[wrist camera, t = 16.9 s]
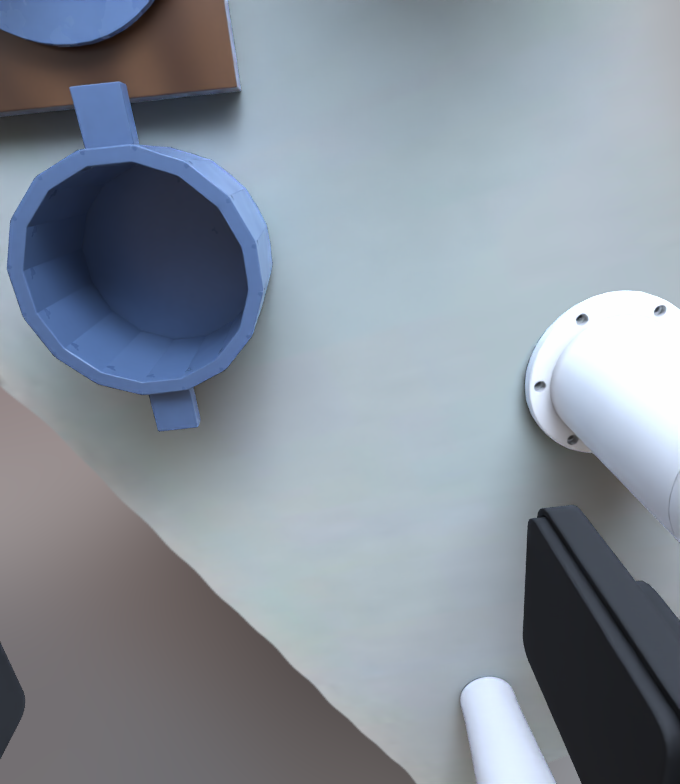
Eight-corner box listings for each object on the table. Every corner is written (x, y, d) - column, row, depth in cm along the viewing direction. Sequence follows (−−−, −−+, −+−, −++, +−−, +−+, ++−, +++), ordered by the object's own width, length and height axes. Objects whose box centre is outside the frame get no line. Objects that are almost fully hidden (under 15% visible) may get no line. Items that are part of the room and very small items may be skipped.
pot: (248, 88, 33) (228, 67, 25) (289, 371, 40) (284, 423, 32) (34, 111, 33) (-53, 96, 25) (114, 390, 40) (66, 447, 32)
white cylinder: (512, 715, 56) (579, 898, 42) (447, 716, 55) (492, 901, 42) (524, 667, 53) (600, 845, 39) (455, 667, 53) (507, 848, 39)
